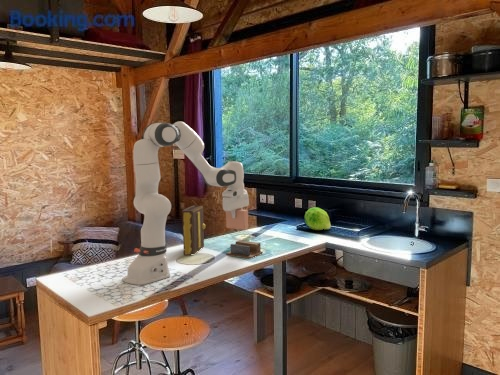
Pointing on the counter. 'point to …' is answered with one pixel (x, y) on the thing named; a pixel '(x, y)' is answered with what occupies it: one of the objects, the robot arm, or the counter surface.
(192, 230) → the book
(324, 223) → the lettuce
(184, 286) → the counter surface
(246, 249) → the bookend
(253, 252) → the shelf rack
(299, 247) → the counter surface
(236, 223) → the boxed book
